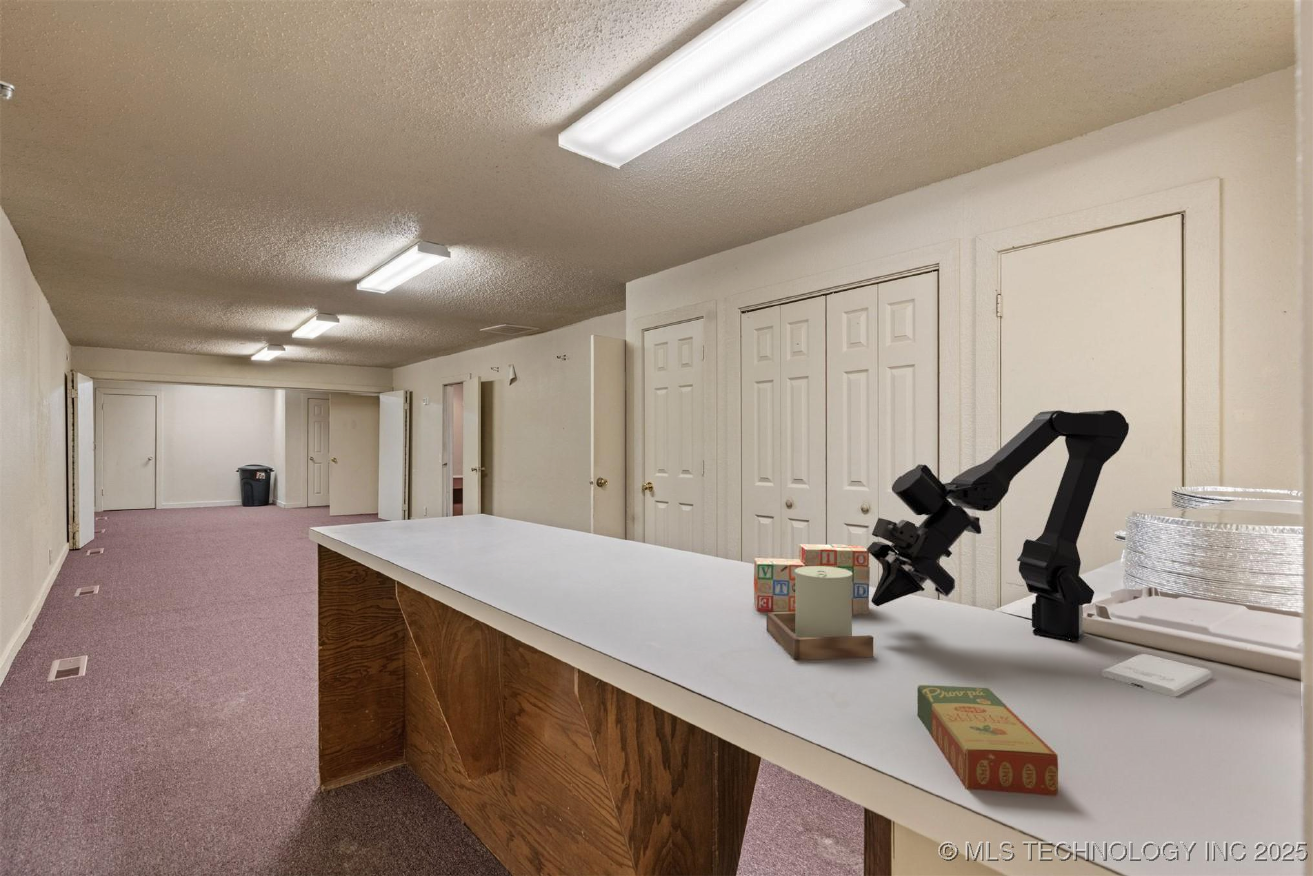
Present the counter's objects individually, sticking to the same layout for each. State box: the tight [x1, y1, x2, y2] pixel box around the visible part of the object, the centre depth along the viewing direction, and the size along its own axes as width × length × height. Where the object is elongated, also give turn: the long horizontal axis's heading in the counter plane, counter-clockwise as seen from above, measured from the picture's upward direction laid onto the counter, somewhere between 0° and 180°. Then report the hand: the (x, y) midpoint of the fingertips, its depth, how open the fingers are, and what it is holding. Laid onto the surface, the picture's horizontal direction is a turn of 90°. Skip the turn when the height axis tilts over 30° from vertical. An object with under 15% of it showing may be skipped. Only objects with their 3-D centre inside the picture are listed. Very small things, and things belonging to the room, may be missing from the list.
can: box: [794, 566, 853, 638], centre depth 99 cm, size 9×9×12 cm
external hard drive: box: [1101, 653, 1213, 698], centre depth 84 cm, size 2×8×12 cm
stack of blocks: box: [753, 543, 871, 614], centre depth 119 cm, size 21×6×12 cm, turn 86°
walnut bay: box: [766, 611, 874, 661], centre depth 98 cm, size 12×15×3 cm
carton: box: [916, 684, 1059, 797], centre depth 64 cm, size 8×16×4 cm, turn 172°
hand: (874, 604), depth 99 cm, fingers closed
